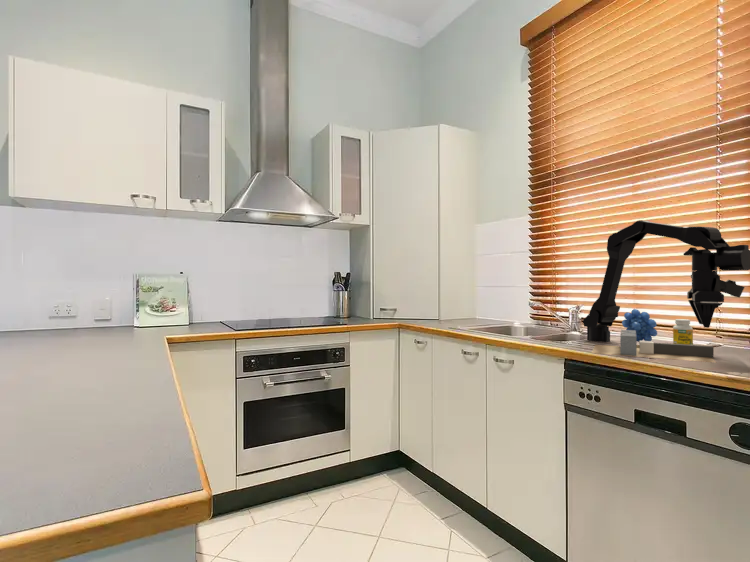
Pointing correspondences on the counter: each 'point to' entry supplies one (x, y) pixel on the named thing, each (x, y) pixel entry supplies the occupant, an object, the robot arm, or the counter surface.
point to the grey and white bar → (675, 349)
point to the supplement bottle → (682, 332)
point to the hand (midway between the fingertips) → (704, 325)
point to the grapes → (640, 325)
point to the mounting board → (616, 351)
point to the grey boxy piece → (628, 342)
